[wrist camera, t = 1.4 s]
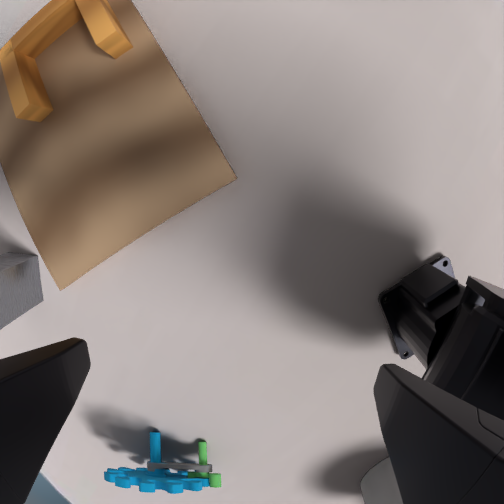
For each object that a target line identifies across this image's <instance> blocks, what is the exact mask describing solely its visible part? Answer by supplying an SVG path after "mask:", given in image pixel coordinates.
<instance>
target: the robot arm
mask: <svg viewBox="0 0 504 504" xmlns="http://www.w3.org/2000/svg"><path fill="white" fill-rule="evenodd" d="M444 261H445V264H444V265H443V262H444ZM466 285H467V286H466V287H464V286H463V285H461V284H460V283H458V280H457V279H455V276H454V272H453V269H452V265H451V262H450V259H449V258H448V257H446V256H441V257H440V258H438V259H437V260H435V261H434V262H432V263H430V264H426V265H424V266H422V267H421V268H419V269H418V270H416V271H414V272H413V273H411V274H409V275H408V276H406V277H405V278H403V279H402V280H401V282H400V283H398V284H396V285H395V286H393V287H391V288H389V289H388V290H386V291H384V292H383V293H381V294H380V295H379V298H378V301H379V304H380V306H381V309H382V311H383V314H384V316H385V319H386V321H387V324H388V327H389V329H390V332H391V335H392V337H393V340H394V343H395V345H396V348H397V351H398V354H399V356H400V357H401V358H402V359H407V358H409V357H410V356H412V355H414V354H415V356H416V357H417V358H418V359H419V361H420V362H421V363H422V365H423V366H424V367H425V368H426V372H425V374H424V375H423V377H422V379H421V378H420V377H418V376H416V375H414V374H412V373H410V372H408V371H407V370H405V369H403V368H401V367H399V366H397V365H396V364H383V365H382V366H381V367H380V369H379V372H378V375H377V379H376V382H375V385H374V397H375V402H376V406H377V411H378V416H379V422H380V427H381V431H382V435H383V438H384V442H385V445H386V448H387V451H388V454H389V457H390V461H391V464H392V467H393V471H394V474H395V477H396V481H397V484H398V488H399V491H400V495H401V498H402V502H403V504H504V289H502V288H499V287H497V286H494V285H492V284H489V283H487V282H484V281H482V280H479V279H477V278H474V277H471V276H468V279H467V282H466ZM385 297H387V300H386V301H383V299H384V298H385ZM406 351H407V352H406ZM404 352H406V353H405V354H404ZM89 369H90V357H89V352H88V347H87V343H86V341H85V340H83V339H79V338H70V339H67V340H64V341H60V342H57V343H54V344H51V345H47V346H44V347H41V348H37V349H34V350H31V351H27V352H24V353H21V354H17V355H14V356H10V357H7V358H4V359H0V504H24V503H25V501H26V499H27V497H28V495H29V492H30V490H31V488H32V486H33V484H34V482H35V480H36V478H37V476H38V473H39V471H40V469H41V467H42V465H43V463H44V461H45V459H46V457H47V455H48V453H49V451H50V449H51V447H52V445H53V444H54V442H55V440H56V438H57V436H58V434H59V432H60V430H61V428H62V426H63V425H64V423H65V421H66V419H67V417H68V415H69V414H70V412H71V410H72V408H73V406H74V404H75V402H76V400H77V398H78V395H79V393H80V390H81V388H82V386H83V383H84V381H85V379H86V376H87V374H88V372H89Z"/></svg>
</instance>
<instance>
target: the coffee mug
mask: <svg viewBox="0 0 504 504" xmlns="http://www.w3.org/2000/svg"><path fill="white" fill-rule="evenodd" d="M360 487H361V491H362V495H363V498H364V502H365V504H403V502H402V498H401V495H400V491H399V488H398V484H397V481H396V477H395V474H394V471H393V467H392V464H391V461H390V457H388V458H386V459H384V460H383V461H381V462H380V463H378V464H377V465H375V466H374V467H373V468H372V469H370V470H369V471H368V472H367V473H366V474H365V476H364V477H363V479H362V481H361V484H360Z"/></svg>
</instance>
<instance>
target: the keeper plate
mask: <svg viewBox="0 0 504 504" xmlns="http://www.w3.org/2000/svg"><path fill="white" fill-rule="evenodd" d="M0 163H1V165H2V168H3V171H4V174H5V177H6V179H7V182H8V185H9V187H10V190H11V192H12V195H13V197H14V200H15V202H16V204H17V207H18V209H19V211H20V214H21V216H22V218H23V220H24V223H25V225H26V227H27V229H28V231H29V233H30V235H31V237H32V239H33V242H34V244H35V246H36V248H37V249H38V251H39V253H40V255H41V257H42V259H43V261H44V263H45V265H46V267H47V268H48V270H49V272H50V274H51V276H52V277H53V279H54V281H55V283H56V284H57V286H58V288H59V290H60V291H61V290H62V289H64V288H66V287H67V286H69V285H70V284H71V283H73V282H74V281H76V280H77V279H78V278H80V277H81V276H83V275H84V274H85V273H87V272H88V271H90V270H91V269H93V268H94V267H96V266H97V265H99V264H100V263H101V262H103V261H104V260H106V259H107V258H109V257H110V256H112V255H113V254H115V253H116V252H118V251H119V250H121V249H122V248H124V247H125V246H127V245H128V244H130V243H132V242H133V241H135V240H136V239H138V238H139V237H141V236H142V235H144V234H146V233H147V232H149V231H150V230H152V229H153V228H155V227H157V226H158V225H160V224H161V223H163V222H165V221H166V220H168V219H169V218H171V217H173V216H174V215H176V214H178V213H179V212H181V211H183V210H184V209H186V208H188V207H189V206H191V205H193V204H194V203H196V202H198V201H199V200H201V199H203V198H204V197H206V196H208V195H210V194H211V193H213V192H215V191H216V190H218V189H220V188H222V187H223V186H225V185H227V184H229V183H230V182H232V181H234V180H236V179H237V177H236V175H235V174H234V172H233V170H232V168H231V167H230V165H229V163H228V161H227V160H226V158H225V156H224V154H223V153H222V151H221V149H220V147H219V146H218V144H217V142H216V140H215V139H214V137H213V135H212V134H211V132H210V130H209V128H208V127H207V125H206V123H205V122H204V120H203V118H202V116H201V115H200V113H199V111H198V110H197V108H196V106H195V104H194V103H193V101H192V99H191V98H190V96H189V94H188V93H187V91H186V89H185V88H184V86H183V84H182V83H181V81H180V79H179V78H178V76H177V74H176V72H175V71H174V69H173V68H172V66H171V64H170V63H169V61H168V59H167V58H166V56H165V54H164V53H163V51H162V49H161V48H160V46H159V44H158V43H157V41H156V39H155V38H154V36H153V35H152V33H151V31H150V30H149V28H148V26H147V25H146V23H145V22H144V20H143V18H142V17H141V15H140V14H139V12H138V10H137V9H136V7H135V6H134V4H133V2H132V1H131V0H52V1H50V2H49V3H48V4H47V5H46V6H44V7H43V8H42V9H41V10H40V11H39V12H38V13H37V14H35V15H34V16H33V17H32V18H31V19H30V20H29V21H28V22H27V23H26V24H25V25H24V26H23V27H22V28H21V29H20V30H19V31H18V32H17V33H16V34H15V35H14V36H13V37H12V38H11V39H10V40H9V41H8V42H7V43H6V44H5V45H4V46H3V47H2V49H1V50H0Z"/></svg>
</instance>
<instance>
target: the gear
mask: <svg viewBox="0 0 504 504" xmlns="http://www.w3.org/2000/svg"><path fill="white" fill-rule="evenodd" d="M198 446H199V464H190V463H171V462H161V442H160V433H157V432H150V461H147V468H136V470H134V469H130V468H126V467H119V468H118V470H117V469H111V468H108V469H107V472H104V479H105V480H106V481H108V482H115V486H118V487H122V488H130V487H131V486H130V485H137V486H139V491H140V492H155V489H162V490H165V491H167V492H168V493H172V494H176V493H183V489H186V490H191V491H200V490H202V487H208V486H210V487H221V474H218V473H209V472H212V465H211V464H207V450H206V442H198ZM165 468H172V469H192V470H195V472H189V471H178V473H171V472H170V470H169V469H165ZM209 479H210V483H209Z"/></svg>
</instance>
